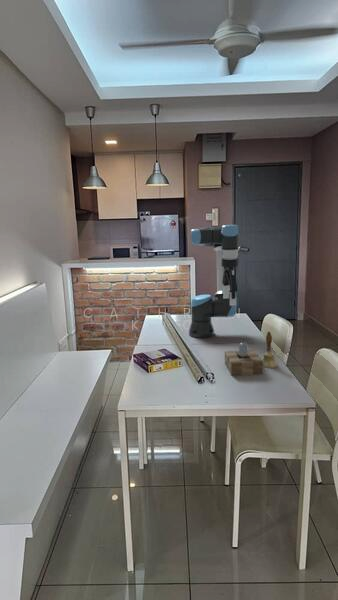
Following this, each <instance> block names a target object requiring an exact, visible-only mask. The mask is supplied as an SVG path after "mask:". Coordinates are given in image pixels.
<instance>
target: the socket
mask: <svg viewBox="0 0 338 600" xmlns="http://www.w3.org/2000/svg"><path fill="white" fill-rule="evenodd" d="M224 365H225V366H226V369H227V370H228V372H229V374H230V376H231V377H235V376H236V377H237V376H250V375H253V376H254V375H263V373H264V367H263V358H262V357H260V356H259V354H258V353H257V352H256V351H255V349H249V350H248V349H247V358H241V359H239V350H233V351H232V350H230V351H229V350H228V351H224Z"/></svg>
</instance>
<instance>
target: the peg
mask: <svg viewBox="0 0 338 600" xmlns="http://www.w3.org/2000/svg"><path fill="white" fill-rule="evenodd" d="M247 350H248V343H247V342H244V341H243V342H239V343H238V351H239V359H241V358H247Z"/></svg>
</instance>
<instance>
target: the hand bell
mask: <svg viewBox="0 0 338 600" xmlns="http://www.w3.org/2000/svg"><path fill="white" fill-rule="evenodd" d="M266 333H267V334H266V336H265V342H266V345H267V346H266V352H264V353H263V357H262V360H263V368H267V369H273V368H277V367H278V365H279V363H278V362H277V361H276V359H275V354H274V353H273V352H272V351H271V349H272V348H271V346H272V345H271V344H272V341H273V337H272V333H271V331H267V332H266Z"/></svg>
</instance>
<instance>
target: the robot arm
mask: <svg viewBox="0 0 338 600" xmlns="http://www.w3.org/2000/svg"><path fill="white" fill-rule="evenodd" d="M190 243H191V245H198V246H203V247H212V248H213V250H214V251H215V254H216V292H215V294H214V297H213V296H212V295H211V294H200V295H199V294H198V295H195V296H193V297H192V298H191V302H190V303H191V304H190V308H191V310H190V311H191V313H190V314H191V323H190V326H189V329H188V335H189V336H190V337H193V338H199V339H203V338H205V339H206V338H210V337H213V336H214V335H215V329H214V325H213V323H212V318H232V317H235V316H236V313H237V310H238V309H237V307H238V297H237V292H238V285H237V283H238V282H237V272H236V269H235V270H234V268H236V267H238V265H239V261H238V257H239V248H238V245H239V226H238V225H237V224H225V225H221V226H206V227H202V228H195V229H194V228H193V229H191V230H190Z"/></svg>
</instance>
